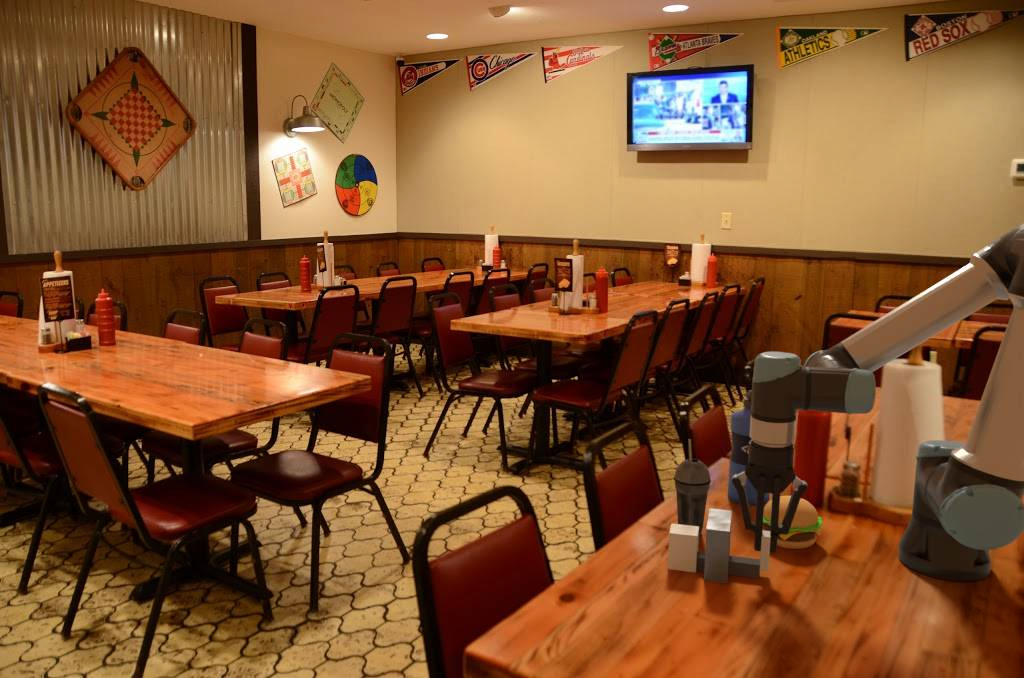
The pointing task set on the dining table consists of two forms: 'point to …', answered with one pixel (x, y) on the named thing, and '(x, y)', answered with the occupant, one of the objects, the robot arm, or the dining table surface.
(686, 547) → the beige and grey hammer
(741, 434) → the water bottle
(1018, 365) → the robot arm
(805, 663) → the dining table surface
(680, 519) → the beverage cup
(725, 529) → the grey slab
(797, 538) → the hamburger
